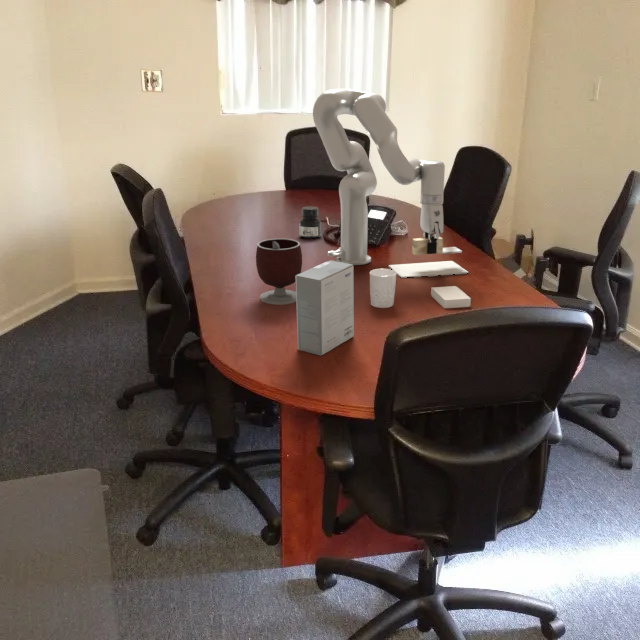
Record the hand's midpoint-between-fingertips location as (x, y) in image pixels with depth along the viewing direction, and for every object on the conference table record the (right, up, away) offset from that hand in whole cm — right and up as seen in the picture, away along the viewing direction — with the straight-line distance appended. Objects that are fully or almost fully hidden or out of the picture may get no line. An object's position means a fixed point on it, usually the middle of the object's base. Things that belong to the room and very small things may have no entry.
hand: (429, 251), depth 231 cm
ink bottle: (-42, +11, +48) cm, 64 cm away
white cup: (-19, -19, -30) cm, 40 cm away
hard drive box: (-36, -30, -57) cm, 74 cm away
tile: (+1, -15, -22) cm, 27 cm away
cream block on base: (+2, 0, +1) cm, 2 cm away
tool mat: (0, -6, +3) cm, 7 cm away
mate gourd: (-50, -17, -25) cm, 58 cm away
